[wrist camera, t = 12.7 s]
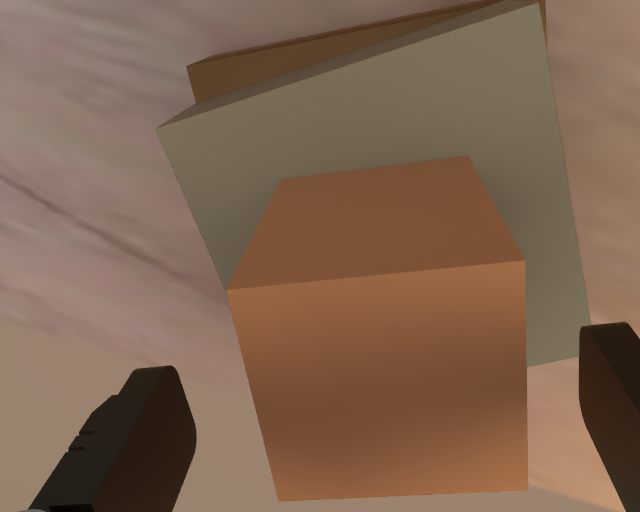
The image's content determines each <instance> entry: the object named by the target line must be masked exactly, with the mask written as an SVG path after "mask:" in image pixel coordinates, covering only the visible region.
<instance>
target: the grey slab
mask: <svg viewBox="0 0 640 512" xmlns="http://www.w3.org/2000/svg"><path fill="white" fill-rule="evenodd" d="M156 131H157V134H158V136H159V138H160V140H161V143H162V145H163V147H164V150H165V152H166V154H167V157H168V159H169V161H170V163H171V166H172V168H173V170H174V173H175V175H176V177H177V180H178V182H179V184H180V187H181V189H182V191H183V193H184V196H185V198H186V200H187V203H188V205H189V207H190V210H191V212H192V214H193V216H194V219H195V221H196V223H197V226H198V228H199V230H200V233H201V235H202V237H203V239H204V242H205V244H206V246H207V249H208V251H209V253H210V256H211V258H212V260H213V263H214V265H215V267H216V269H217V272H218V274H219V276H220V279H221V281H222V283H223V286H224V288H225V290H226V289H227V287H228V285H229V283H230V281H231V279H232V277H233V275H234V273H235V271H236V269H237V266H238V264H239V262H240V260H241V258H242V256H243V254H244V252H245V250H246V248H247V246H248V244H249V242H250V240H251V238H252V236H253V234H254V232H255V230H256V228H257V226H258V224H259V222H260V220H261V218H262V216H263V214H264V212H265V210H266V208H267V206H268V204H269V202H270V200H271V198H272V196H273V193H274V191H275V189H276V187H277V185H278V183H279V181H280V179H287V178H295V177H303V176H311V175H319V174H327V173H335V172H342V171H350V170H358V169H366V168H374V167H382V166H390V165H398V164H406V163H414V162H422V161H430V160H438V159H446V158H454V157H462V156H469V158H470V160H471V162H472V164H473V166H474V167H475V169H476V171H477V173H478V175H479V176H480V178H481V180H482V182H483V184H484V186H485V187H486V189H487V191H488V193H489V195H490V197H491V198H492V200H493V202H494V204H495V206H496V208H497V209H498V211H499V213H500V215H501V217H502V219H503V220H504V222H505V224H506V226H507V228H508V229H509V231H510V233H511V235H512V237H513V239H514V240H515V242H516V244H517V246H518V248H519V250H520V251H521V253H522V255H523V257H524V259H525V269H526V357H527V367H530V366H535V365H539V364H544V363H549V362H554V361H559V360H564V359H569V358H574V357H579V335H580V329H581V327H582V326H588V325H591V321H590V315H589V308H588V302H587V296H586V290H585V284H584V278H583V272H582V265H581V259H580V253H579V247H578V241H577V235H576V229H575V222H574V216H573V210H572V204H571V198H570V192H569V186H568V179H567V173H566V167H565V161H564V155H563V149H562V142H561V136H560V130H559V124H558V118H557V112H556V106H555V99H554V93H553V87H552V81H551V75H550V69H549V63H548V56H547V50H546V44H545V38H544V32H543V26H542V20H541V13H540V7H539V2H527V1H514V0H505V1H502V2H499V3H496V4H493V5H490V6H487V7H484V8H481V9H478V10H475V11H472V12H469V13H466V14H463V15H460V16H457V17H454V18H451V19H448V20H445V21H442V22H439V23H436V24H433V25H430V26H427V27H424V28H421V29H418V30H415V31H412V32H409V33H406V34H403V35H400V36H397V37H394V38H391V39H388V40H385V41H382V42H379V43H376V44H373V45H370V46H367V47H364V48H361V49H358V50H355V51H352V52H349V53H346V54H343V55H340V56H337V57H334V58H331V59H328V60H325V61H322V62H319V63H316V64H313V65H310V66H307V67H304V68H301V69H298V70H295V71H292V72H289V73H286V74H283V75H280V76H277V77H274V78H271V79H268V80H265V81H262V82H259V83H256V84H253V85H250V86H247V87H244V88H241V89H238V90H235V91H232V92H229V93H226V94H224V95H221V96H218V97H215V98H212V99H209V100H206V101H203V102H200V103H197V104H194V105H192V106H191V107H189V108H187V109H186V110H184V111H183V112H181V113H180V114H178V115H176V116H175V117H173V118H172V119H170V120H168V121H167V122H165V123H164V124H162V125H160V126H159V127H157V128H156Z"/></svg>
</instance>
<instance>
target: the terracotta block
mask: <svg viewBox="0 0 640 512" xmlns="http://www.w3.org/2000/svg"><path fill="white" fill-rule="evenodd" d="M226 293H227V297H228V301H229V305H230V309H231V313H232V317H233V321H234V325H235V329H236V333H237V337H238V341H239V345H240V349H241V353H242V357H243V361H244V365H245V369H246V373H247V377H248V381H249V385H250V389H251V393H252V397H253V401H254V405H255V408H256V412H257V416H258V421H259V424H260V428H261V432H262V436H263V440H264V444H265V448H266V452H267V456H268V460H269V464H270V468H271V472H272V476H273V480H274V484H275V488H276V492H277V496H278V500H279V501H296V500H319V499H341V498H362V497H363V498H364V497H385V496H386V497H387V496H408V495H409V496H410V495H432V494H454V493H474V492H475V493H477V492H499V491H522V490H528V445H527V357H526V269H525V259H524V257H523V255H522V253H521V251H520V250H519V248H518V246H517V244H516V242H515V240H514V239H513V237H512V235H511V233H510V231H509V229H508V228H507V226H506V224H505V222H504V220H503V219H502V217H501V215H500V213H499V211H498V209H497V208H496V206H495V204H494V202H493V200H492V198H491V197H490V195H489V193H488V191H487V189H486V187H485V186H484V184H483V182H482V180H481V178H480V176H479V175H478V173H477V171H476V169H475V167H474V166H473V164H472V162H471V160H470V158H469V156H462V157H454V158H446V159H438V160H430V161H422V162H414V163H406V164H398V165H390V166H382V167H374V168H366V169H358V170H350V171H342V172H335V173H327V174H319V175H311V176H303V177H295V178H287V179H280V181H279V183H278V185H277V187H276V189H275V191H274V193H273V196H272V198H271V200H270V202H269V204H268V206H267V208H266V210H265V212H264V214H263V216H262V218H261V220H260V222H259V224H258V226H257V228H256V230H255V232H254V234H253V236H252V238H251V240H250V242H249V244H248V246H247V248H246V250H245V252H244V254H243V256H242V258H241V260H240V262H239V264H238V266H237V269H236V271H235V273H234V275H233V277H232V279H231V281H230V283H229V285H228V287H227V289H226Z"/></svg>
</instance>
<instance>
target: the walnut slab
mask: <svg viewBox="0 0 640 512" xmlns="http://www.w3.org/2000/svg"><path fill="white" fill-rule="evenodd" d="M502 1H505V0H482V1H477V2H473V3H468V4H463V5H458V6H453V7H448V8H443V9H438V10H434V11H429V12H424V13H419V14H414V15H409V16H404V17H399V18H395V19H390V20H385V21H380V22H375V23H370V24H365V25H360V26H356V27H351V28H346V29H341V30H336V31H331V32H326V33H321V34H317V35H312V36H307V37H302V38H297V39H292V40H287V41H282V42H278V43H273V44H268V45H263V46H258V47H253V48H248V49H243V50H239V51H234V52H229V53H224V54H219V55H214V56H211V57H208V58H206V59H203V60H201V61H198V62H196V63H193V64H191V65H188V66H186V67H187V71H188V75H189V78H190V82H191V86H192V89H193V93H194V96H195V100H196V104H197V103H200V102H203V101H206V100H209V99H212V98H215V97H218V96H221V95H224V94H226V93H229V92H232V91H235V90H238V89H241V88H244V87H247V86H250V85H253V84H256V83H259V82H262V81H265V80H268V79H271V78H274V77H277V76H280V75H283V74H286V73H289V72H292V71H295V70H298V69H301V68H304V67H307V66H310V65H313V64H316V63H319V62H322V61H325V60H328V59H331V58H334V57H337V56H340V55H343V54H346V53H349V52H352V51H355V50H358V49H361V48H364V47H367V46H370V45H373V44H376V43H379V42H382V41H385V40H388V39H391V38H394V37H397V36H400V35H403V34H406V33H409V32H412V31H415V30H418V29H421V28H424V27H427V26H430V25H433V24H436V23H439V22H442V21H445V20H448V19H451V18H454V17H457V16H460V15H463V14H466V13H469V12H472V11H475V10H478V9H481V8H484V7H487V6H490V5H493V4H496V3H499V2H502ZM514 1H527V2H539V7H540V13H541V20H542V26H543V32H544V38H545V44H546V50H547V38H546V10H545V0H514Z"/></svg>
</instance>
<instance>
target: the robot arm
mask: <svg viewBox="0 0 640 512" xmlns="http://www.w3.org/2000/svg"><path fill="white" fill-rule="evenodd" d="M579 401H580V407H581V412H582V416H583V419H584V423H585V425H586V428H587V430H588V432H589V434H590V436H591V438H592V440H593V443H594V445H595V447H596V449H597V451H598V453H599V455H600V457H601V459H602V462H603V464H604V466H605V468H606V470H607V472H608V474H609V476H610V479H611V481H612V483H613V485H614V487H615V489H616V491H617V493H618V495H619V498H620V500H621V502H622V504H623V506H624V508H625V510H626V512H640V339H639V337H638V336H637V335H636V333H635V332H634V331H633V329H632V328H631V327H630V325H629V324H628V323H626V322H619V323H609V324H599V325H588V326H582V327H581V329H580V335H579ZM195 448H196V427H195V423H194V419H193V416H192V413H191V410H190V408H189V404H188V402H187V399H186V396H185V393H184V390H183V387H182V384H181V381H180V378H179V375H178V372H177V370H176V369H175V368H174V367H173V366H160V367H150V368H139V369H135V370H134V371H133V372H132V373H131V375H130V377H129V378H128V380H127V381H126V383H125V385H124V386H123V388H122V389H121V391H120V392H119V394H118V395H112V396H111V397H110V398H108V399H107V400H106V401H105V402H104V403H103V404H102V405H100V407H98V408H97V409H96V410H95V411H93V412H92V413H91V415H90V416H89V418H88V419H87V421H86V422H85V424H84V425H83V427H82V428H81V430H80V431H79V436H76V437H75V439H74V440H73V442H72V443H71V445H70V447H69V451H68V452H66V453H65V454H64V456H63V457H62V459H61V460H60V462H59V463H58V465H57V466H56V468H55V469H54V471H53V472H52V474H51V475H50V477H49V478H48V480H47V481H46V483H45V484H44V486H43V487H42V489H41V490H40V492H39V493H38V495H37V496H36V498H35V499H34V501H33V502H32V504H31V505H30V507H29V508H28V510H24V511H19V512H172V510H173V508H174V505H175V503H176V500H177V498H178V495H179V492H180V489H181V487H182V485H183V482H184V480H185V477H186V474H187V472H188V469H189V467H190V464H191V461H192V459H193V456H194V453H195Z"/></svg>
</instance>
